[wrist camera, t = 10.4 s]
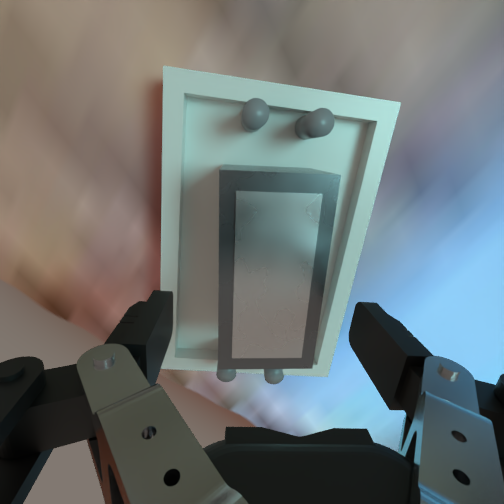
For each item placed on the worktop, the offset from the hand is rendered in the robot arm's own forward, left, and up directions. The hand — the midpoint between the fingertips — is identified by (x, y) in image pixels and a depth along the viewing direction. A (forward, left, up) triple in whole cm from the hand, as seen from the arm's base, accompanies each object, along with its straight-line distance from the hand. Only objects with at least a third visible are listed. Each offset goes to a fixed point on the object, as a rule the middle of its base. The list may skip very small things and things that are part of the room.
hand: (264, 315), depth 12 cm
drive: (+1, 0, -6) cm, 6 cm away
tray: (+1, 0, -7) cm, 7 cm away
